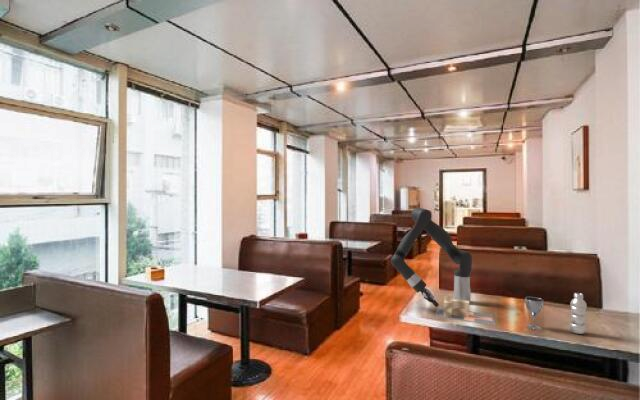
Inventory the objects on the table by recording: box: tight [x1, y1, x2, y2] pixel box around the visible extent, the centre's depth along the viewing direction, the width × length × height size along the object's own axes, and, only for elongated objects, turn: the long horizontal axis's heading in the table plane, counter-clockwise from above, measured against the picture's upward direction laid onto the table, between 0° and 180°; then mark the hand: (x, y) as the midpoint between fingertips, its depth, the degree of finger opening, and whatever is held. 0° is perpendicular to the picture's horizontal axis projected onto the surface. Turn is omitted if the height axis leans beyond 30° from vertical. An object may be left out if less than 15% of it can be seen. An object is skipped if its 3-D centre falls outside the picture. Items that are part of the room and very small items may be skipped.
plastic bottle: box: [568, 292, 587, 335], centre depth 167 cm, size 6×7×20 cm
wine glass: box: [524, 296, 544, 331], centre depth 174 cm, size 8×8×15 cm
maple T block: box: [443, 295, 470, 318], centre depth 189 cm, size 13×14×8 cm
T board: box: [434, 306, 497, 326], centre depth 187 cm, size 30×18×1 cm, turn 67°
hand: (437, 305), depth 193 cm, fingers closed
